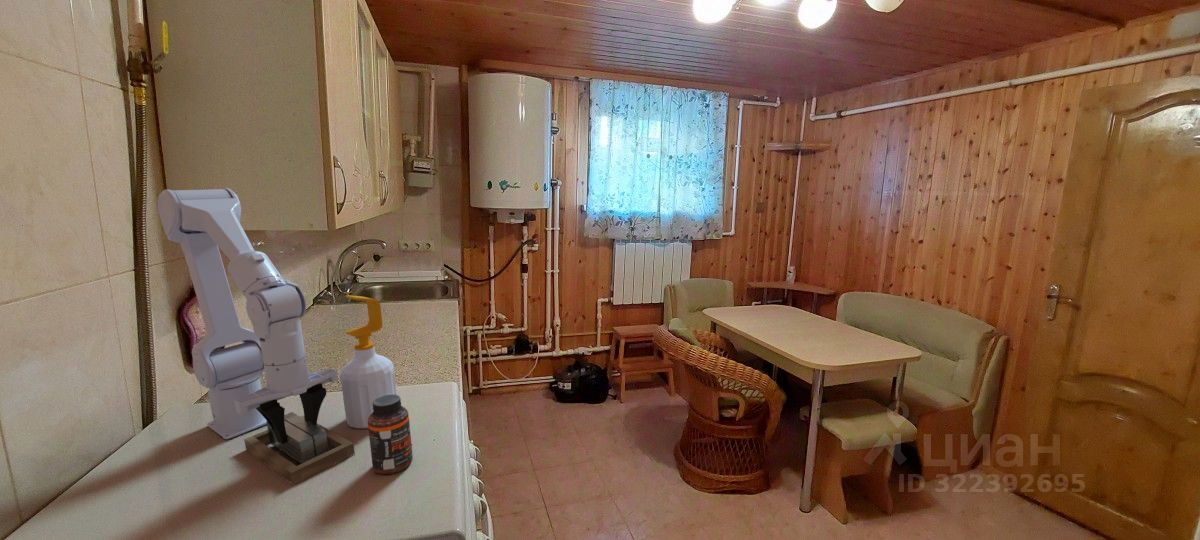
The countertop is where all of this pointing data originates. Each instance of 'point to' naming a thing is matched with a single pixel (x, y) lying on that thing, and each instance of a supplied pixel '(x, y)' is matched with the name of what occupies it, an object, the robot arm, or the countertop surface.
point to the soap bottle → (366, 371)
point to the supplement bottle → (389, 435)
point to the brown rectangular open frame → (306, 469)
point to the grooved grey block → (301, 438)
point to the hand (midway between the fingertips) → (297, 435)
